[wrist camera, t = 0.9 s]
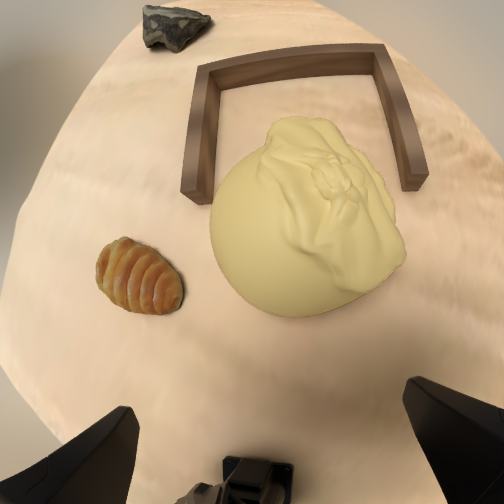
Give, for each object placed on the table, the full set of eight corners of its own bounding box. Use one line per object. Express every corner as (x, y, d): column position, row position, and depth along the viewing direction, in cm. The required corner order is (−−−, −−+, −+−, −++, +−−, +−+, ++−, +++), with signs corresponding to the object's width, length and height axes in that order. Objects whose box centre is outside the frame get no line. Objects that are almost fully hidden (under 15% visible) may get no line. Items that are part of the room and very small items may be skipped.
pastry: (198, 264, 26) (177, 258, 22) (175, 332, 25) (151, 336, 22) (127, 236, 28) (103, 228, 25) (108, 295, 28) (83, 293, 24)
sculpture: (402, 274, 20) (456, 250, 10) (268, 334, 23) (217, 358, 12) (340, 156, 24) (338, 71, 13) (220, 213, 26) (153, 160, 15)
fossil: (228, 12, 31) (187, -14, 23) (207, 61, 35) (161, 43, 27) (179, 12, 34) (138, -7, 26) (161, 55, 38) (116, 43, 30)
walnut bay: (417, 190, 21) (429, 174, 18) (198, 205, 26) (180, 192, 23) (381, 65, 24) (383, 43, 20) (209, 84, 29) (197, 66, 26)
